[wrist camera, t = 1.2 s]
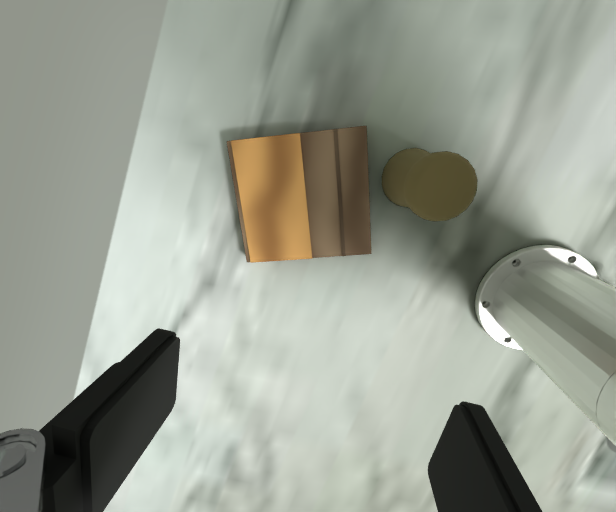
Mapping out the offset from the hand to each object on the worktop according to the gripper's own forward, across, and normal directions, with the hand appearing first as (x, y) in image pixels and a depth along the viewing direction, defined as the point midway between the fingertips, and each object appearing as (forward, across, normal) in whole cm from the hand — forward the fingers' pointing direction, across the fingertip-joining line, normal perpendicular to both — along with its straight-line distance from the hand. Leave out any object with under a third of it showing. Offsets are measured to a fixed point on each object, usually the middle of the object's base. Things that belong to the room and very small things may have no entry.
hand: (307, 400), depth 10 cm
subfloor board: (+26, +4, -3) cm, 26 cm away
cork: (+26, -7, -7) cm, 28 cm away
